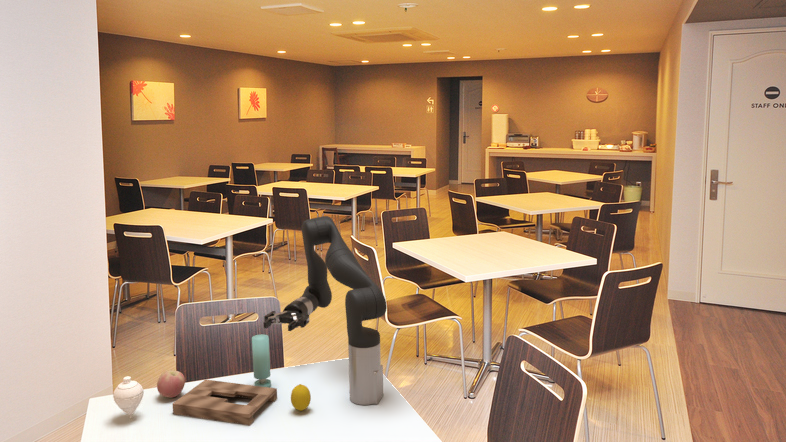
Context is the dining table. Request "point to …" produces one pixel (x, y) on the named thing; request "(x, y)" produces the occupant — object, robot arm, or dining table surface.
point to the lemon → (300, 397)
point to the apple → (170, 383)
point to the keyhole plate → (223, 401)
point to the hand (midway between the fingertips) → (276, 327)
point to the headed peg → (261, 360)
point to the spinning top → (128, 395)
